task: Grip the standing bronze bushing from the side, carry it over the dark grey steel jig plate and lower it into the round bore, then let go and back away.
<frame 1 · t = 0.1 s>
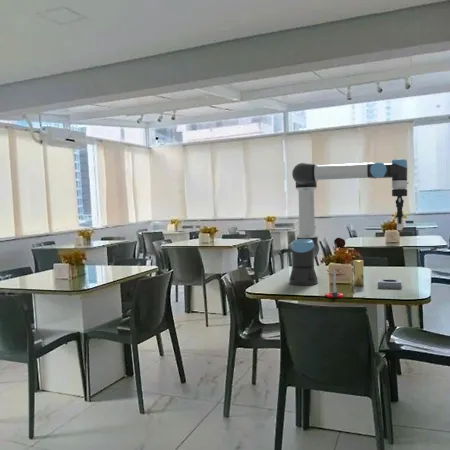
hand: (399, 229, 253), 28 cm above the table, tool pointing down, fingers open, 13 cm apart
dark brown rounded piece: (340, 270, 299), on the table
jig: (389, 286, 242), on the table
grey spike red base: (334, 296, 224), on the table
bushing: (358, 286, 246), on the table
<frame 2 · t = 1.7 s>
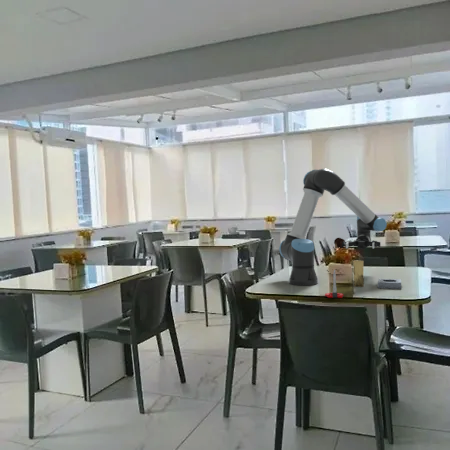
hand: (359, 246, 254), 20 cm above the table, tool horizontal, fingers open, 13 cm apart
nothing on the table moved.
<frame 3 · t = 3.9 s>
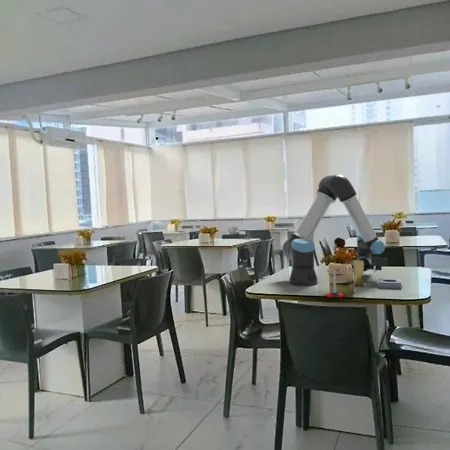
hand: (360, 269, 250), 8 cm above the table, tool horizontal, fingers open, 13 cm apart
nothing on the table moved.
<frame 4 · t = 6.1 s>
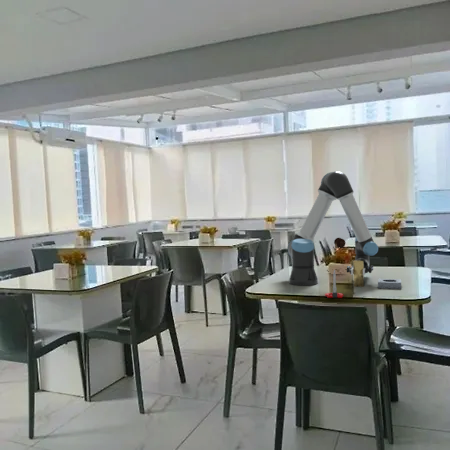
hand: (357, 272, 241), 8 cm above the table, tool horizontal, fingers closed on bushing, 5 cm apart
bushing: (358, 286, 246), on the table, touching gripper
everything else where it was.
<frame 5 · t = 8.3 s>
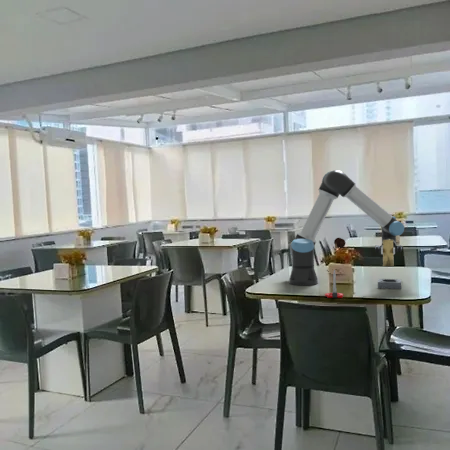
hand: (387, 251, 236), 18 cm above the table, tool horizontal, fingers closed on bushing, 5 cm apart
bushing: (388, 265, 242), point 11 cm above the table, touching gripper
everything else where it was.
when the fingers open (9 cm above the table, at t = 10.3 s): bushing drops 1 cm, resting in jig.
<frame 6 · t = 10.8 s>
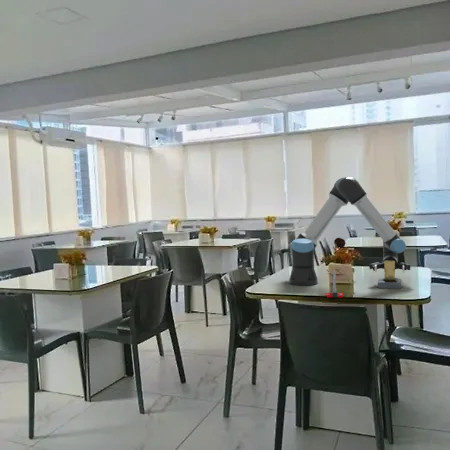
hand: (389, 269, 238), 9 cm above the table, tool horizontal, fingers open, 12 cm apart
bushing: (389, 286, 242), resting in jig
everything else where it was.
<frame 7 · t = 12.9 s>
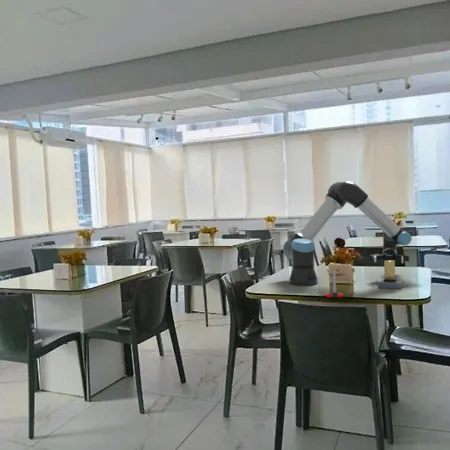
hand: (388, 260, 251), 12 cm above the table, tool horizontal, fingers open, 13 cm apart
nothing on the table moved.
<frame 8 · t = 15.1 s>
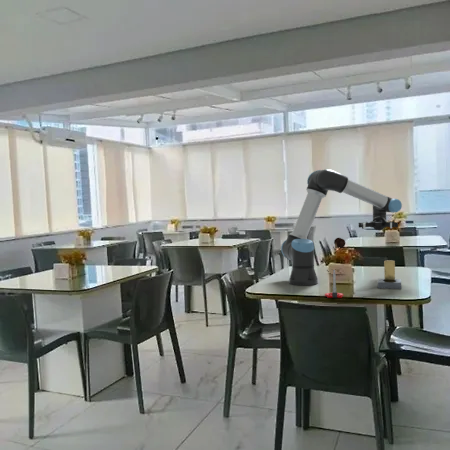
hand: (377, 225, 252), 30 cm above the table, tool horizontal, fingers open, 13 cm apart
nothing on the table moved.
at the end: bushing 0.1 cm off-centre in the jig, point 0.0 cm above the jig's base; bushing tilted 0°; the gripper is holding nothing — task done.
